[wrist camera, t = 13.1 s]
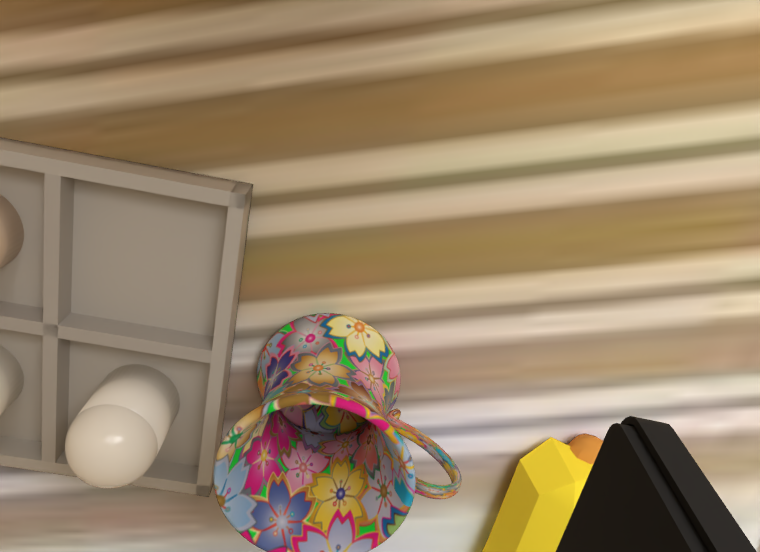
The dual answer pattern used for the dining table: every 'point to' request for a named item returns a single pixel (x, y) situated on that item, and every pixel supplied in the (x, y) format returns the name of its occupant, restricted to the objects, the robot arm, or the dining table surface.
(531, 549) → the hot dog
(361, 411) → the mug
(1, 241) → the egg
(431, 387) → the dining table surface
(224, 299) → the carton
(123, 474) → the egg
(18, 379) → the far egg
